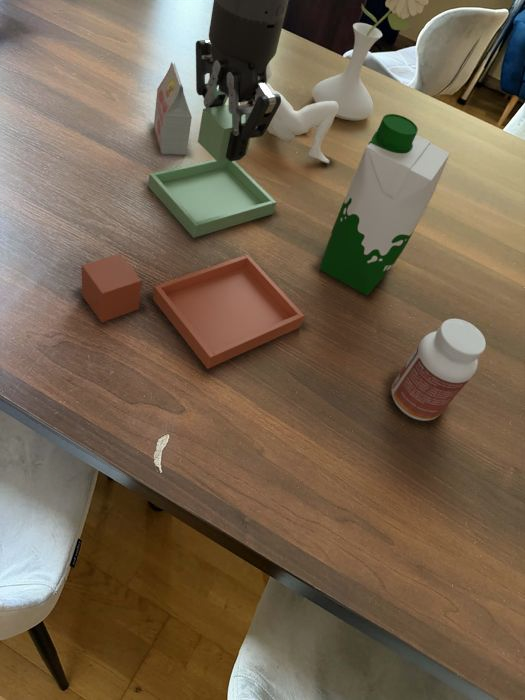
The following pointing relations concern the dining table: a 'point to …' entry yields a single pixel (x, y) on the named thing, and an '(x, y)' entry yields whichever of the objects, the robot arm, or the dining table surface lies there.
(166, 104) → the small milk carton
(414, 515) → the dining table surface
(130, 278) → the terracotta block
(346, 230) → the soya milk
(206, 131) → the sage block
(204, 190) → the sage tray
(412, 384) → the pill bottle
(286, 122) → the person figurine
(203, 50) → the robot arm
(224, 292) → the terracotta tray
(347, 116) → the flower in vase
